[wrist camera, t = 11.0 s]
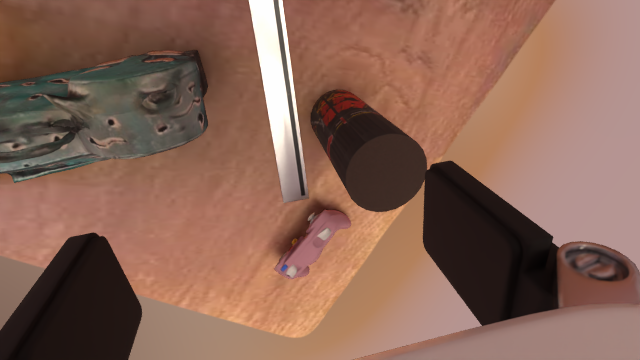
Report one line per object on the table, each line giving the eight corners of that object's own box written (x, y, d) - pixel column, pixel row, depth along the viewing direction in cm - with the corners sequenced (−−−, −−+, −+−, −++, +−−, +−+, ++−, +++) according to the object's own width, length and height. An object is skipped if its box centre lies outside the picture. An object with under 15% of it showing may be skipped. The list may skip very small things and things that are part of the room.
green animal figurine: (213, 34, 32) (167, 59, 14) (231, 103, 35) (213, 196, 17) (-19, 73, 30) (-416, 161, 12) (22, 143, 33) (-249, 296, 15)
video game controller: (327, 195, 43) (316, 208, 36) (355, 218, 43) (349, 236, 36) (280, 251, 45) (261, 273, 38) (306, 274, 45) (292, 300, 38)
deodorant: (373, 103, 37) (442, 152, 24) (348, 151, 39) (399, 221, 26) (325, 80, 35) (371, 120, 22) (301, 132, 37) (330, 197, 24)
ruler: (246, -11, 31) (246, -12, 30) (280, -15, 31) (280, -15, 31) (283, 202, 40) (283, 203, 40) (308, 197, 41) (308, 198, 41)
